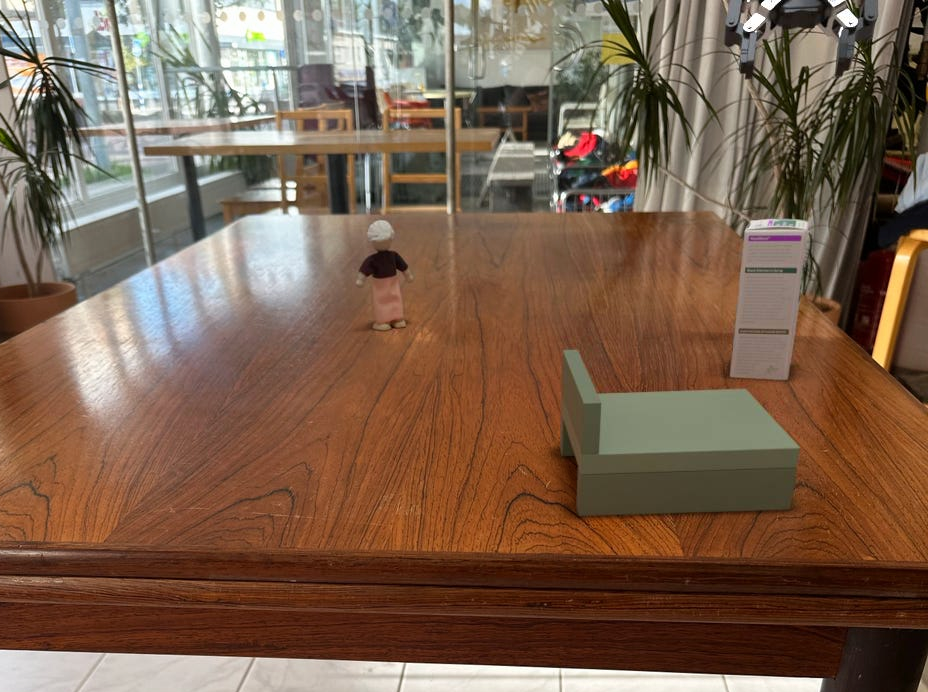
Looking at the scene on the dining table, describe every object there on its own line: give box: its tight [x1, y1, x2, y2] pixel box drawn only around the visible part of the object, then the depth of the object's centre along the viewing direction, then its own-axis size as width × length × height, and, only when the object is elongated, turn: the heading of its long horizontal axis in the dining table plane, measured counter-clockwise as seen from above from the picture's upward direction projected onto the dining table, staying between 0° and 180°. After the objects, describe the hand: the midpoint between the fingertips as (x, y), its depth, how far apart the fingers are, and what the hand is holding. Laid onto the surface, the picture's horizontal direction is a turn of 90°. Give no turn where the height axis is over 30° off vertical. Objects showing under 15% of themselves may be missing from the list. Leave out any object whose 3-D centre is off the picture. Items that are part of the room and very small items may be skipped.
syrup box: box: [729, 218, 810, 381], centre depth 93 cm, size 6×6×14 cm
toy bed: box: [559, 349, 801, 517], centre depth 71 cm, size 15×14×9 cm
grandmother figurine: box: [355, 219, 414, 331], centre depth 117 cm, size 8×4×13 cm, turn 130°
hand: (794, 71), depth 93 cm, fingers open, 8 cm apart
